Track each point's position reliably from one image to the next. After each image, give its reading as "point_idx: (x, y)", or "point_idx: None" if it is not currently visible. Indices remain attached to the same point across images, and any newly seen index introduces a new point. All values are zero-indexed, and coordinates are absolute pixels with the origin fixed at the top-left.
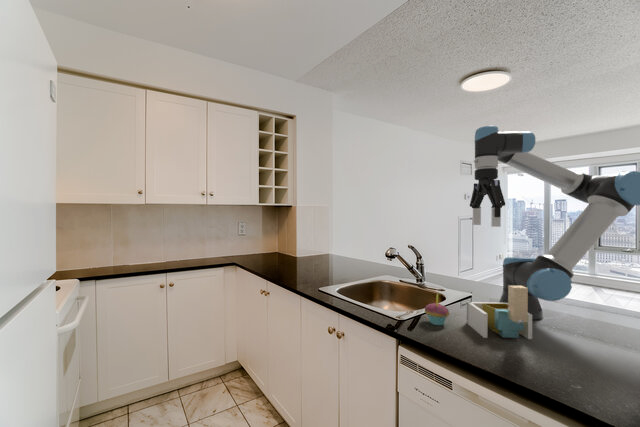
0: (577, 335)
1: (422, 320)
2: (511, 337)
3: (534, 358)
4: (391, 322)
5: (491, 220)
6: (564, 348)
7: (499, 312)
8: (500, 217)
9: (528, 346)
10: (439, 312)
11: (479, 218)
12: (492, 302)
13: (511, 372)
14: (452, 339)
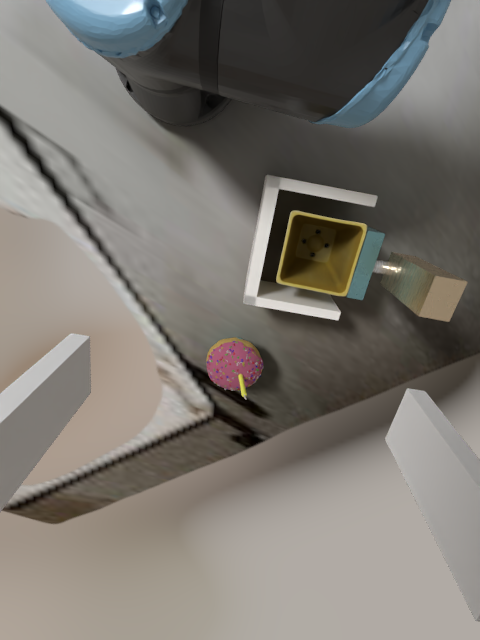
0: None
1: None
2: None
3: None
4: (224, 431)
5: (405, 479)
6: (416, 154)
7: (363, 295)
8: (472, 451)
9: None
10: (260, 374)
11: (56, 382)
12: (258, 231)
13: (448, 341)
14: (319, 363)
